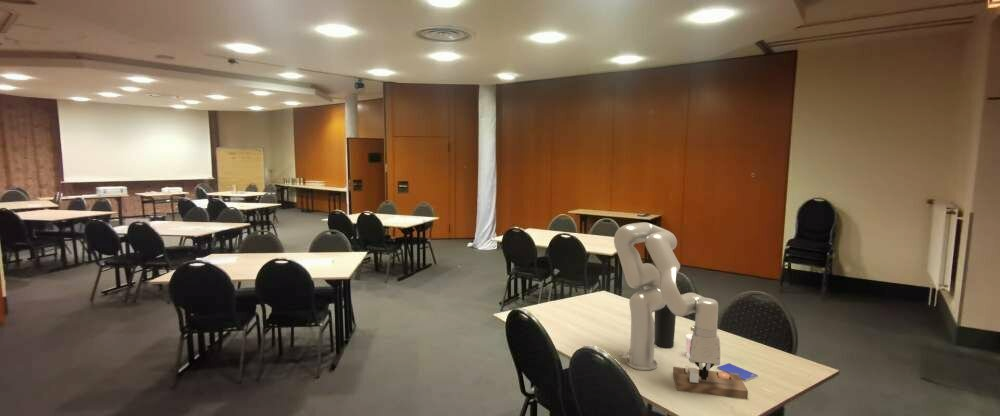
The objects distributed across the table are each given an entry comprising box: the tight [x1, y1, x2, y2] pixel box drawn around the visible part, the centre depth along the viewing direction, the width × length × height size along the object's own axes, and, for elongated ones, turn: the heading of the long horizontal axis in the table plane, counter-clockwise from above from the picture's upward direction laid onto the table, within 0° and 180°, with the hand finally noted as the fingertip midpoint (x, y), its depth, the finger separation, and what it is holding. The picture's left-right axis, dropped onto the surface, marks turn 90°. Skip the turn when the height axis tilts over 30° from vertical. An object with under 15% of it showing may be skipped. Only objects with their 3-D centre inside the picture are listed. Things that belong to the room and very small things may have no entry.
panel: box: [672, 366, 749, 400], centre depth 176 cm, size 24×14×3 cm, turn 75°
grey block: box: [688, 367, 699, 383], centre depth 174 cm, size 3×5×4 cm, turn 165°
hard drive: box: [716, 362, 759, 383], centre depth 187 cm, size 2×8×12 cm
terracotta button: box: [718, 371, 730, 379], centre depth 178 cm, size 4×4×3 cm
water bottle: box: [654, 305, 677, 349], centre depth 214 cm, size 10×10×23 cm
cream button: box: [684, 364, 697, 375], centre depth 181 cm, size 4×4×3 cm
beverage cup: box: [685, 324, 695, 358], centre depth 202 cm, size 6×6×14 cm
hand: (703, 378), depth 173 cm, fingers closed
